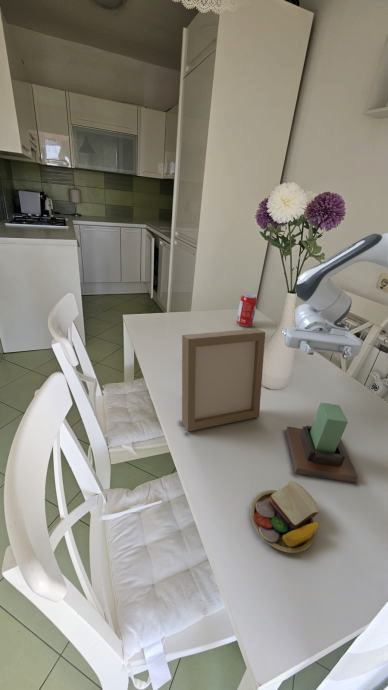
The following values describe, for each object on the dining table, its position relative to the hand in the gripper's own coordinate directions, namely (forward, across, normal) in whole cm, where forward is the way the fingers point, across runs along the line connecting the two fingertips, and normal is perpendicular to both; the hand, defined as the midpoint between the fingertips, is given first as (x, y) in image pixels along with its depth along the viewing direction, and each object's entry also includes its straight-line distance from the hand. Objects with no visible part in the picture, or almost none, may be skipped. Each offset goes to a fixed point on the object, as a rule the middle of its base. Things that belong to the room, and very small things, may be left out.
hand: (329, 354), depth 78 cm
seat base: (+13, 0, +22) cm, 26 cm away
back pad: (+13, 0, +20) cm, 24 cm away
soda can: (-67, -15, +22) cm, 72 cm away
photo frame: (+1, -27, +22) cm, 35 cm away
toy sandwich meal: (+32, -12, +22) cm, 41 cm away
